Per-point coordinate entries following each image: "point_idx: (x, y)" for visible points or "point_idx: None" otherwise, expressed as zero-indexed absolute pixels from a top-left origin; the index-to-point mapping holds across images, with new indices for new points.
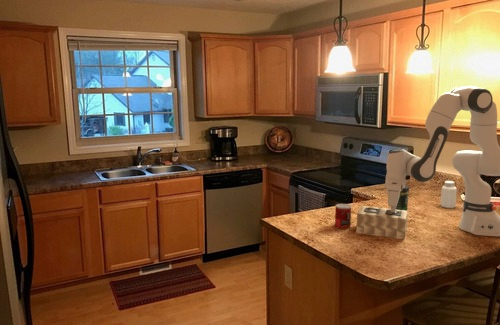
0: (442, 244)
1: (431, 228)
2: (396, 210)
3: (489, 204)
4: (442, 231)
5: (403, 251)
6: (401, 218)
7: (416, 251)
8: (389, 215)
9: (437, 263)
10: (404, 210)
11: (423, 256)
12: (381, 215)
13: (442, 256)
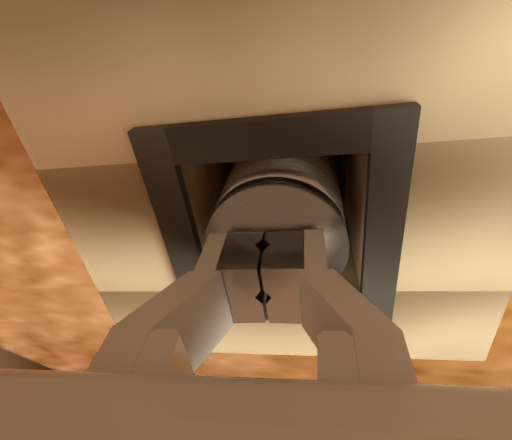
0: (235, 364)
1: (503, 337)
2: (462, 252)
3: None
4: (453, 375)
5: (6, 234)
6: (114, 319)
7: (61, 283)
8: (124, 197)
9: (9, 343)
10: (491, 334)
11: (29, 307)
12: (24, 82)
13: (92, 358)
